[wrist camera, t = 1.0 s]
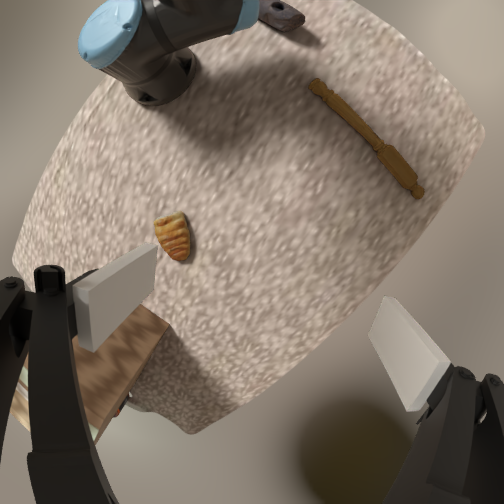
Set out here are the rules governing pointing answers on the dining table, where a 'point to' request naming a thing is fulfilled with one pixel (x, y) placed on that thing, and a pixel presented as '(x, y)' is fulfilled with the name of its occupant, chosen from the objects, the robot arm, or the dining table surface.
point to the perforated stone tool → (280, 15)
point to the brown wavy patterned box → (111, 366)
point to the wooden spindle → (371, 139)
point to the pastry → (173, 235)
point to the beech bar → (20, 409)
